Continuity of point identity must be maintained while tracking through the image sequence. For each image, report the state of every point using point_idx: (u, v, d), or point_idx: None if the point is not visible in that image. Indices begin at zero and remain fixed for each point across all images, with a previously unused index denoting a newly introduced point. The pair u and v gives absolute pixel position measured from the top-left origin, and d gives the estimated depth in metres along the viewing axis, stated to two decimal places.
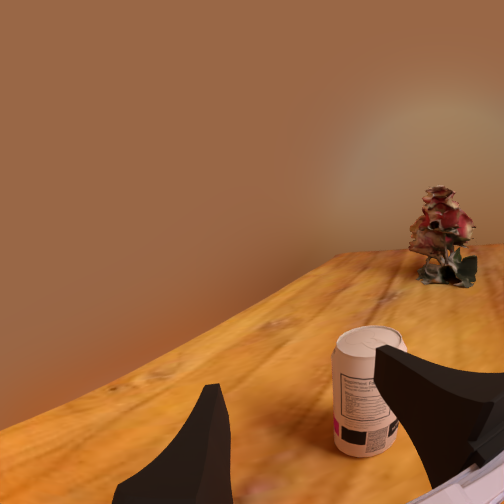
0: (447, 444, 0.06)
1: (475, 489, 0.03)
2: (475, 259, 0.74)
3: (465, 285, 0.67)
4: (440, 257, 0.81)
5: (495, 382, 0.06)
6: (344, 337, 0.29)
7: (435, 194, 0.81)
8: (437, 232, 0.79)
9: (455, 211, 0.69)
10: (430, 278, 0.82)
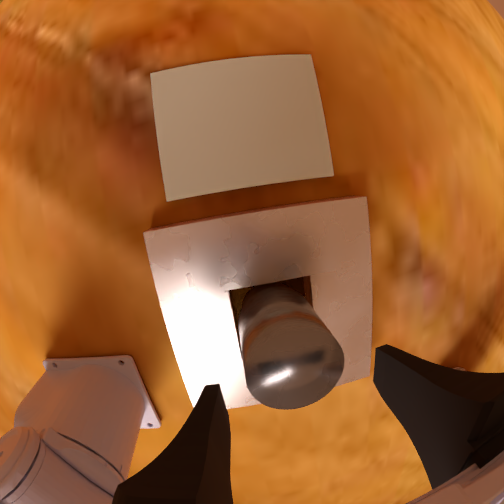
0: (447, 444, 0.06)
1: (475, 489, 0.03)
2: None
3: None
4: None
5: (495, 381, 0.06)
6: None
7: None
8: None
9: None
10: None
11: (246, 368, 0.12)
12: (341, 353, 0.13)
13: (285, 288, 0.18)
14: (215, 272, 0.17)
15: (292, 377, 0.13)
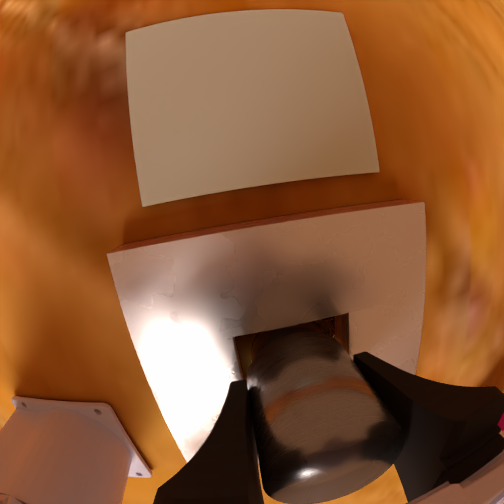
0: (420, 459, 0.06)
1: (475, 489, 0.03)
2: None
3: None
4: None
5: (472, 397, 0.06)
6: None
7: None
8: None
9: None
10: None
11: (264, 473, 0.07)
12: (402, 439, 0.07)
13: (315, 334, 0.12)
14: (213, 313, 0.12)
15: (330, 476, 0.07)
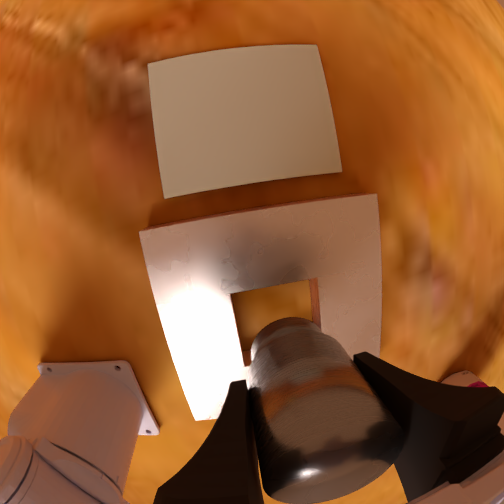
0: (420, 459, 0.06)
1: (475, 489, 0.03)
2: None
3: None
4: None
5: (472, 397, 0.06)
6: None
7: None
8: None
9: None
10: None
11: (264, 473, 0.07)
12: (402, 439, 0.07)
13: (315, 333, 0.12)
14: (216, 274, 0.16)
15: (330, 476, 0.07)
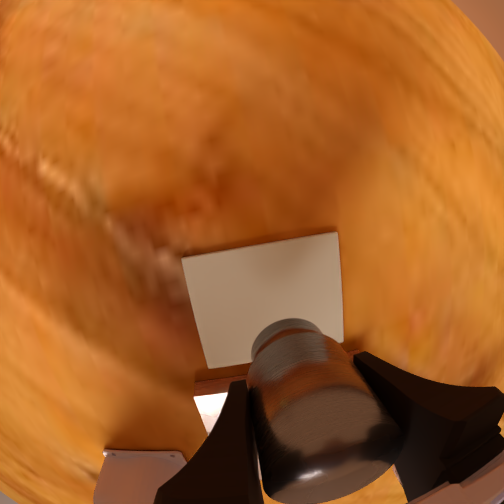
0: (420, 459, 0.06)
1: (475, 489, 0.03)
2: None
3: None
4: None
5: (472, 397, 0.06)
6: None
7: None
8: None
9: None
10: None
11: (264, 475, 0.07)
12: (401, 441, 0.07)
13: (315, 335, 0.12)
14: None
15: (330, 477, 0.07)
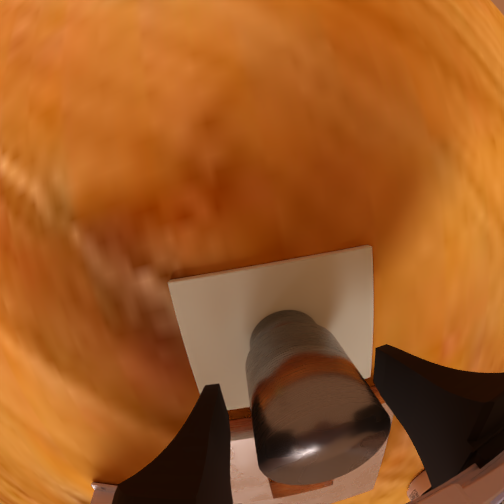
0: (447, 444, 0.06)
1: (475, 489, 0.03)
2: None
3: None
4: None
5: (495, 381, 0.06)
6: None
7: None
8: None
9: None
10: None
11: (259, 451, 0.08)
12: (388, 423, 0.08)
13: (308, 324, 0.13)
14: (256, 464, 0.16)
15: (320, 456, 0.08)
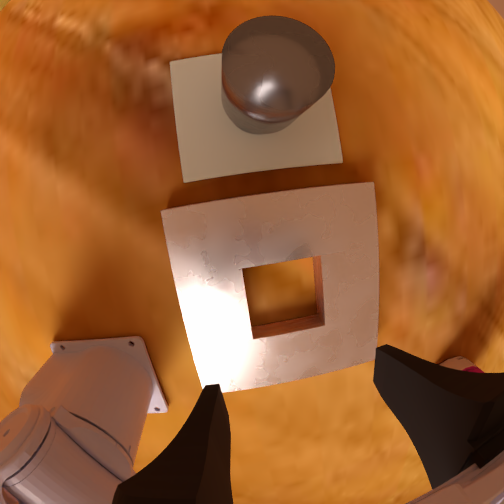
0: (447, 444, 0.06)
1: (475, 489, 0.03)
2: None
3: None
4: None
5: (495, 381, 0.06)
6: None
7: None
8: None
9: None
10: None
11: (223, 48, 0.10)
12: (327, 48, 0.10)
13: None
14: (230, 250, 0.18)
15: (275, 63, 0.10)
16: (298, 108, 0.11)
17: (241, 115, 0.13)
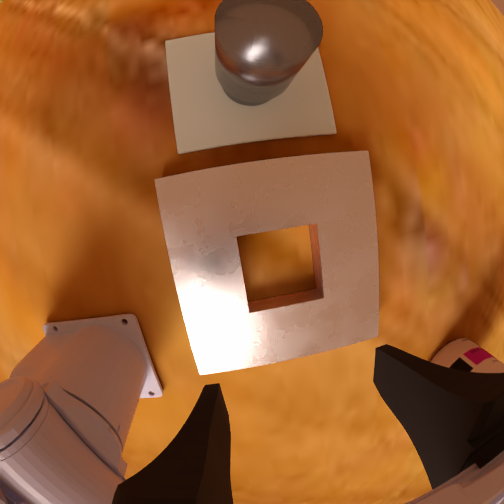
0: (447, 444, 0.06)
1: (475, 489, 0.03)
2: None
3: None
4: None
5: (495, 381, 0.06)
6: None
7: None
8: None
9: None
10: None
11: (216, 12, 0.09)
12: (315, 13, 0.10)
13: None
14: (224, 218, 0.18)
15: (265, 24, 0.10)
16: (288, 63, 0.10)
17: (233, 78, 0.13)
